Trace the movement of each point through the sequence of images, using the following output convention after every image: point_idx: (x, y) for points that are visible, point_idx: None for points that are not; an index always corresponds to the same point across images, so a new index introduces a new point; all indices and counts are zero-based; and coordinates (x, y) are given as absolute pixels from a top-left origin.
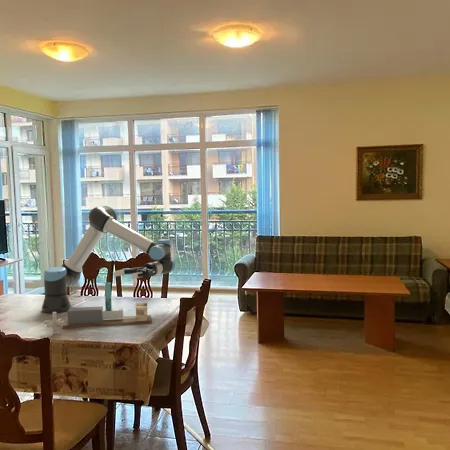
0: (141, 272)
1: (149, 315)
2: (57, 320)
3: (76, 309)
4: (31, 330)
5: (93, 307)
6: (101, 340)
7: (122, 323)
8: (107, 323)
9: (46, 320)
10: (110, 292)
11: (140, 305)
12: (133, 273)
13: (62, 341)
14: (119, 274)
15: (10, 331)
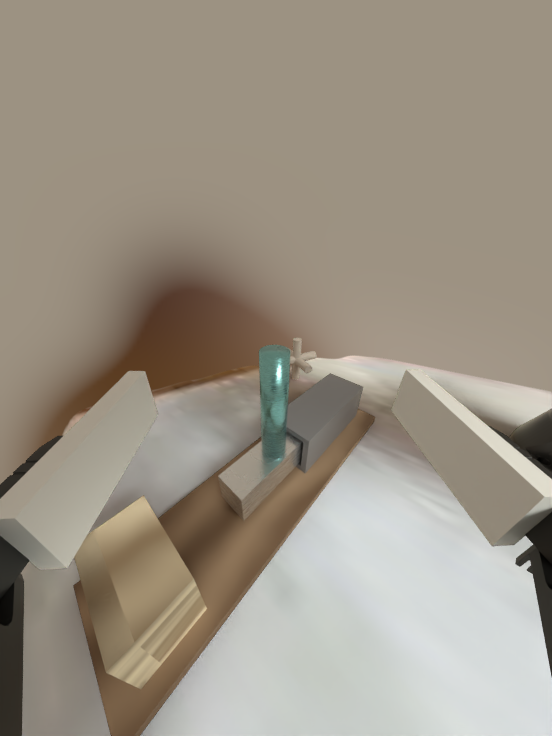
0: (11, 498)
1: (127, 720)
2: (298, 359)
3: (331, 387)
4: (347, 370)
5: (319, 417)
6: (179, 393)
7: (205, 483)
8: (246, 449)
9: (311, 352)
10: (260, 392)
11: (135, 550)
12: (128, 378)
13: (244, 368)
14: (430, 445)
15: (363, 357)
